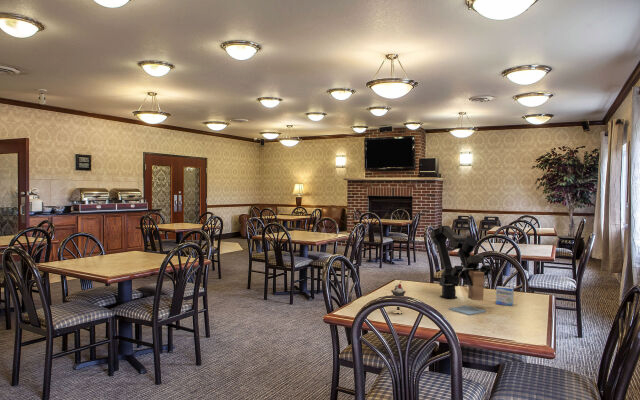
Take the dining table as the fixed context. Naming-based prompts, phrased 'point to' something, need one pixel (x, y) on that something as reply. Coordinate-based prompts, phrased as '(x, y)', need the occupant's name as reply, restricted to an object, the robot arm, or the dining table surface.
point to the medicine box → (504, 295)
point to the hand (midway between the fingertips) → (477, 285)
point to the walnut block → (476, 285)
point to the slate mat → (467, 310)
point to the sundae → (398, 292)
